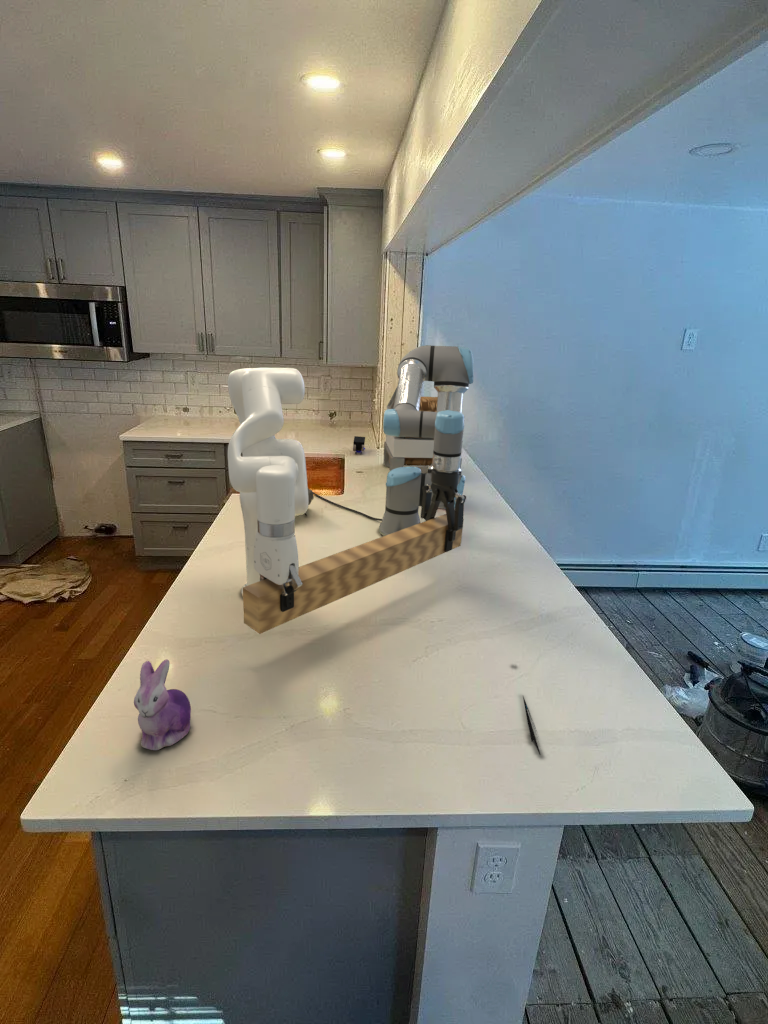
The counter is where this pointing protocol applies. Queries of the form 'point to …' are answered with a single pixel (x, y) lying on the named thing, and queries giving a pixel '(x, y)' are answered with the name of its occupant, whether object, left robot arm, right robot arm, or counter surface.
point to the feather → (530, 725)
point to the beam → (346, 573)
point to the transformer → (410, 442)
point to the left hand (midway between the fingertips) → (277, 602)
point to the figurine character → (358, 444)
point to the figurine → (160, 708)
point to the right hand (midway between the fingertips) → (439, 546)
